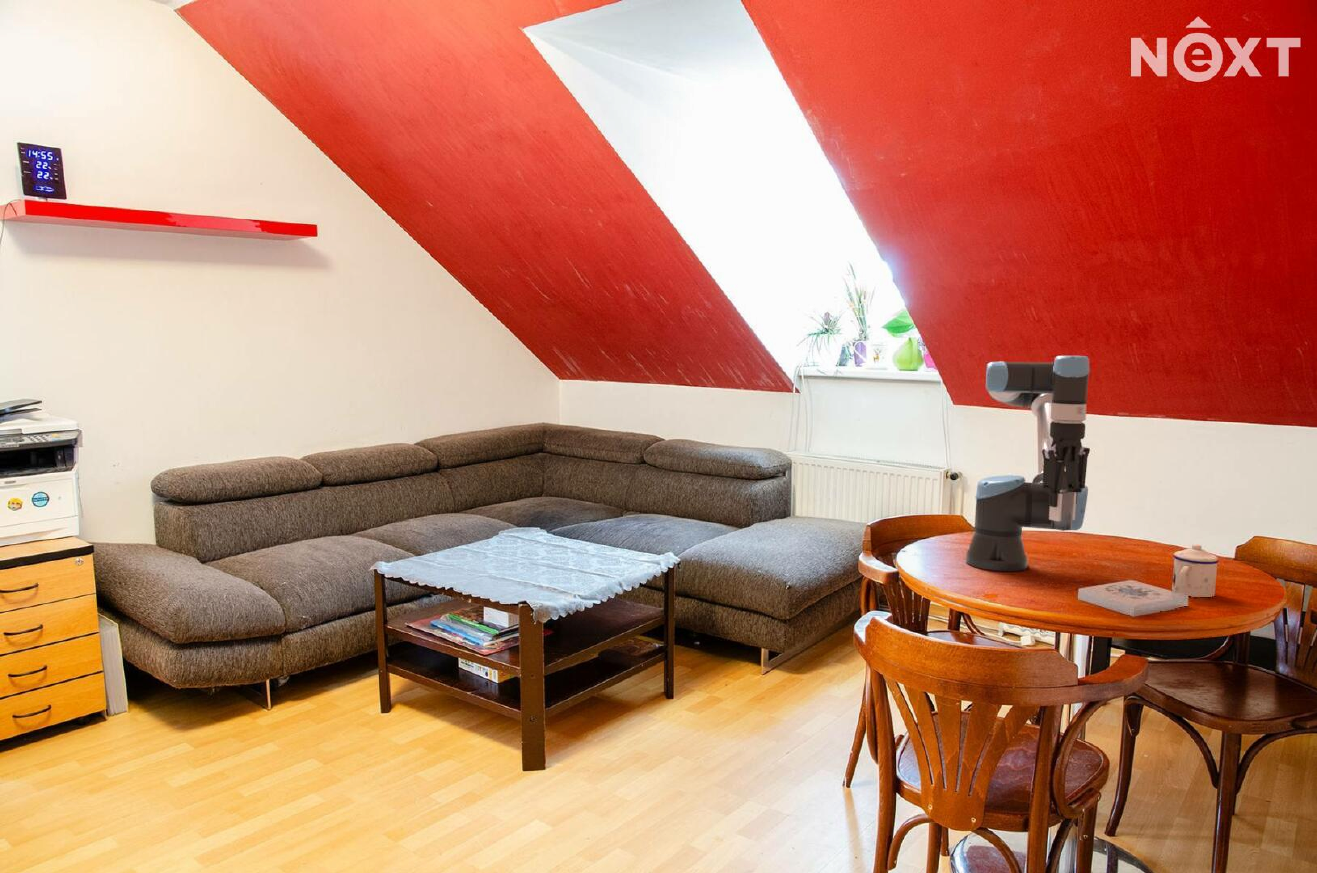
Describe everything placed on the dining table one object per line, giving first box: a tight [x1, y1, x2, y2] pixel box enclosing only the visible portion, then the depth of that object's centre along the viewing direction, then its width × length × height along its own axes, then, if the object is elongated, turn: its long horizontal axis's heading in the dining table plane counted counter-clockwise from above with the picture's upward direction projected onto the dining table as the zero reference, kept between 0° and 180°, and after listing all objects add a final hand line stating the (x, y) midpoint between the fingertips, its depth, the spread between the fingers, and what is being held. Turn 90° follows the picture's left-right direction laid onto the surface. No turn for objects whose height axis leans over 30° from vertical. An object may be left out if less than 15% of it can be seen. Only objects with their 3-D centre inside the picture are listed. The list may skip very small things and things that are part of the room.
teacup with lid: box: [1171, 543, 1219, 598], centre depth 209 cm, size 12×9×12 cm
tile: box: [1077, 579, 1189, 617], centre depth 203 cm, size 14×18×2 cm
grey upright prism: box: [1051, 489, 1074, 531], centre depth 213 cm, size 4×4×9 cm
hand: (1061, 519), depth 213 cm, fingers closed on grey upright prism, 4 cm apart
